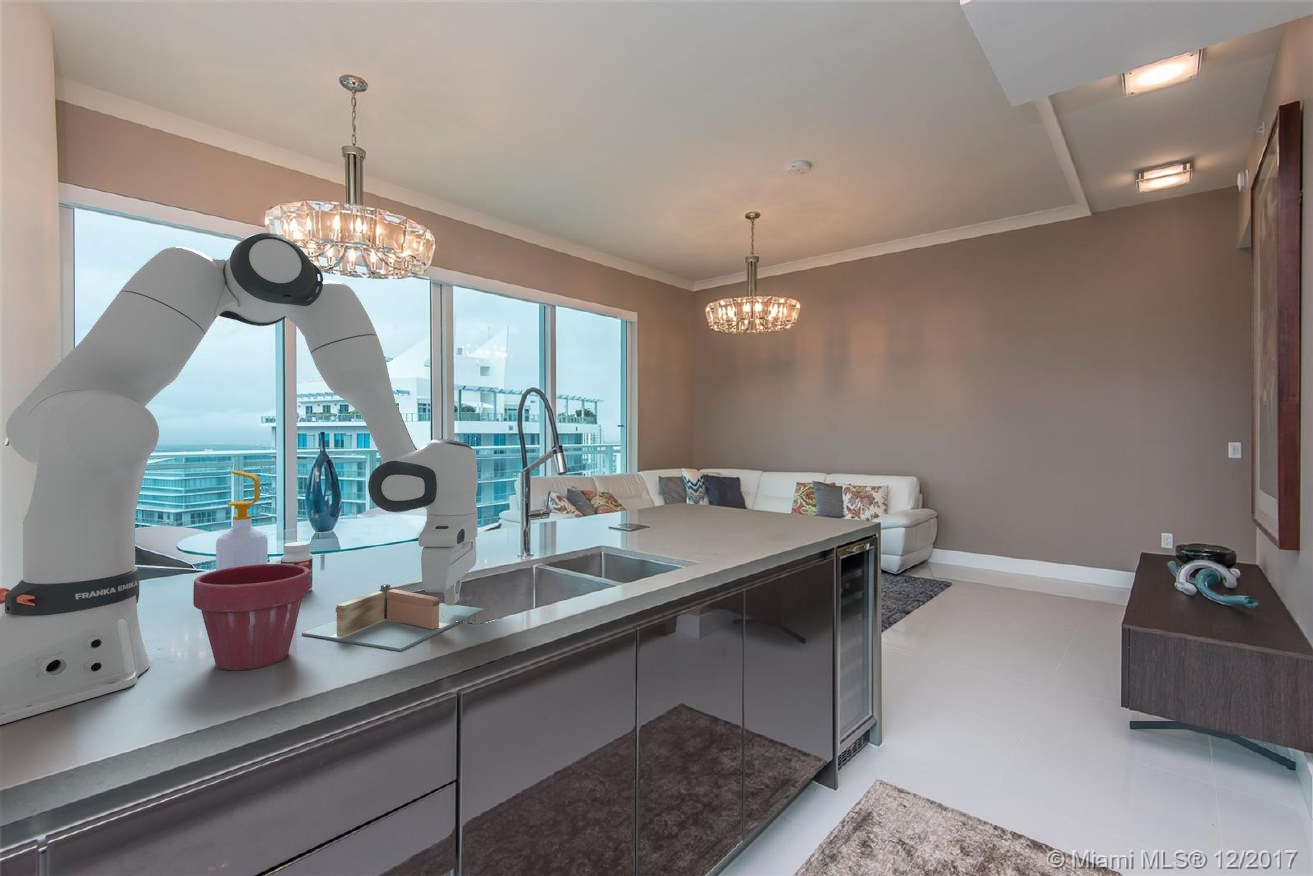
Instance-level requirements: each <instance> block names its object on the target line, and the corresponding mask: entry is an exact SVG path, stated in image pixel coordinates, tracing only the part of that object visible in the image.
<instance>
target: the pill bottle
mask: <svg viewBox="0 0 1313 876" xmlns="http://www.w3.org/2000/svg"><path fill="white" fill-rule="evenodd" d="M310 549H311V542H309V541H293V542H288V543H284V544H283V552H284V554H283V555H282V556H281V557H280V564H292V565H299V566H303V567H306V568H308V569H309V592H310V591H311V590H313V563H314V562H313V560H314V559H313V555H312V553H311V552H309V551H310Z"/></svg>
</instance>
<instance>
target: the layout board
mask: <svg viewBox="0 0 1313 876" xmlns="http://www.w3.org/2000/svg"><path fill="white" fill-rule="evenodd" d="M484 610H485V609H484V608H482V607H472V606H466V605H459V604H454V605H453V606H447V605H445V602H443V603H442V602H440V605H439V614H440V615H439V627H437V628H435V629H429V628H425V627H420V626H416V625H411V624H407V623H403V622H398V621H394V620H389V619H387V618H386V619H384V620H382V621H379V622H377V623H374V624H372V625H369V626H367V627H364V628H362V629H359V630H357V631H354V632H352V633H349V634H347V635H345V636H340V635H337V619H335V620H333V621H331V622H327V623H324V624H322V625H319V626H316V627H314V628H311V629H308V630H305V631H303V632H301V636H304V637H305V636H306V637H312V638H316V639H317V638H318V639H325V640H329V641H335V642H340V643H341V642H343V643H347V644H355V645H360V646H366V647H367V646H368V647H373V648H378V649H385V650H389V651H395V652H396V651H397V652H402V651H404V650H406V649H408V648H410V647H413V646H414V645H416V644H419V643H420V642H423V641H425V640H427V639H429V638H431V637H433V636H434V635H437V634H439V633H441V632H444V631H445V630H447V629H449V628H451V627H453V626H456V625H457V624H459V623H458V622H460V623H461V622H463V621H466V620H467V619H470V618H472V617H474V616H475V615H478V614H480V613H483V612H484ZM441 615H444V616H446V617H442V616H441ZM456 621H458V622H456Z"/></svg>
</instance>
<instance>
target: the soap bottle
mask: <svg viewBox="0 0 1313 876" xmlns="http://www.w3.org/2000/svg"><path fill="white" fill-rule="evenodd" d="M231 474H233V475H238V476H241V477H245V478H247V479H251V480H252V481H253V485H254V486H253V487H254V490H253V491H254V493H253V494H254V498H253V500H245V501H230V502H228V503H227V506H229V507H233V506H234V510H237V515H234V516H232V527H230V529H228V530H227V531H224V532H223V533H222V534H221V535H219V536H218V537H217V540H216V542H215V571H217V570H221V569H226V568H232V567H239V566H247V565H258V564H268V537H267V535H266V532H264V531H262V530H260V529H259V528H257V527H254V526H253V525H252V524H253V523H252V515H251V514H248V510H249V509H250V508H251V506H252V505H255V504H256V503H257V502H258V501H259V500H260V497H261V496H260V494H261V493H260V492H261V491H260V487H261V486H260V485H261V484H260V483H261V482H260V478H259V476H258V475H256V474H254V473H250V472H245V471H241V470H239V469H238V470H237V469H234V470H232V471H231Z"/></svg>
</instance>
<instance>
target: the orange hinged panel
mask: <svg viewBox="0 0 1313 876" xmlns="http://www.w3.org/2000/svg"><path fill="white" fill-rule="evenodd" d="M386 598H387V619H389V620H394V621H398V622H403V623H407V624H411V625H416V626H420V627H425V628H429V629H435V628H437V627H439V605H440V603H441V600H440V597H437V596H432V595H426V594H422V593H418V592H417V593H416V592H411V591H406V590H401V589H395V588H393V589H390V590H389V591H387V593H386Z"/></svg>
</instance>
